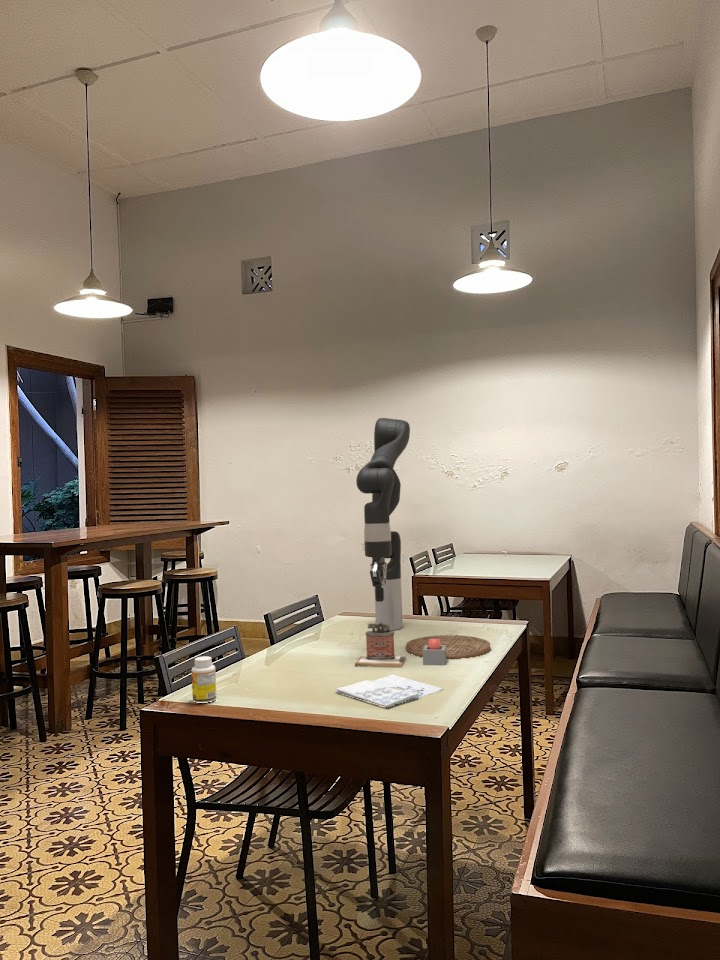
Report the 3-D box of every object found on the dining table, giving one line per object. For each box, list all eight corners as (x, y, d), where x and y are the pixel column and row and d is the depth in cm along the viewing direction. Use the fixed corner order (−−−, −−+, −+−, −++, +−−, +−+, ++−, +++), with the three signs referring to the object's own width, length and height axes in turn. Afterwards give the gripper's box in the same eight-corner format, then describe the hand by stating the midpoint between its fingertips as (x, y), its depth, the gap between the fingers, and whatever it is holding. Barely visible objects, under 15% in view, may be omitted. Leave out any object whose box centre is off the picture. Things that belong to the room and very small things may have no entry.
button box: (425, 659, 206) (424, 645, 206) (446, 659, 205) (446, 645, 205) (423, 664, 200) (422, 650, 200) (445, 665, 199) (444, 650, 199)
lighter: (395, 657, 206) (394, 621, 206) (394, 660, 203) (393, 624, 203) (367, 657, 207) (365, 622, 207) (365, 660, 203) (364, 624, 203)
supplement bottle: (195, 698, 176) (194, 655, 176) (218, 697, 176) (217, 654, 176) (190, 705, 171) (188, 661, 171) (213, 704, 170) (212, 660, 170)
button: (429, 653, 205) (429, 638, 205) (441, 653, 204) (440, 638, 204) (428, 656, 201) (427, 641, 201) (440, 656, 201) (439, 641, 201)
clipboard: (361, 658, 210) (361, 653, 210) (406, 659, 207) (405, 654, 207) (354, 666, 201) (354, 661, 201) (401, 667, 198) (401, 662, 198)
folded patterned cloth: (333, 695, 177) (333, 686, 177) (394, 678, 190) (394, 670, 190) (386, 712, 162) (386, 702, 162) (448, 693, 175) (448, 684, 175)
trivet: (418, 639, 234) (418, 633, 234) (497, 643, 225) (496, 636, 225) (395, 658, 210) (395, 651, 210) (481, 662, 202) (481, 656, 202)
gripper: (386, 541, 198) (388, 605, 198) (395, 537, 211) (397, 597, 210) (359, 541, 199) (361, 605, 199) (369, 537, 212) (371, 597, 212)
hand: (379, 601), depth 205 cm, fingers closed
